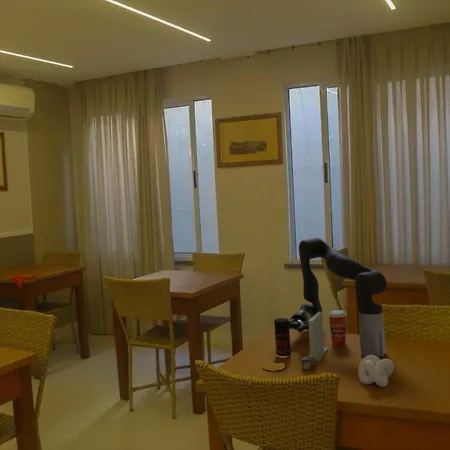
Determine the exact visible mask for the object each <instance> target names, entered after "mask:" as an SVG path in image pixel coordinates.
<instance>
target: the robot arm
mask: <svg viewBox="0 0 450 450" xmlns="http://www.w3.org/2000/svg"><path fill="white" fill-rule="evenodd" d="M298 255H299V262H300V266H301V267H300V268H301V273H302V281H303V299H304V300H305V301H307V302H309V303H303V304H301V306H300V307H299V311H297V312H296V313H294V314H293V315H291V317H290V319H289V330H295V331H297V332H298V333H302V332H304V331H309V320H310V319H311V318H312V317H313V316H314V315H315V314H317V313H318V312H322V313H323V307H322V304H321V302H320V296H319V295H320V293H319V292H320V290H319V288H320V287H319V281H318V278H317V277H316V275H315V274H314V272H313V271H312V268H311V263H310V261H311V260H312V259H317V258H321V259H324V260H325V263H326V267H327V269H328V270H329V271H330V272H332V273H333V274H335V276H338V277H339V278H344V279H347V280H352V281H354V288H355V298H356V305H357V309H358V322H359V324H358V325H359V347H360V348H359V350H360V355H361V356H362V357H363V358H365V357H366V356H368V355H375V356H377V357H378V358H384V356H385V355H386V340H385V339H386V337H385V335H386V334H385V333H386V331H385V329H384V316H383V315H384V314H383V312H384V311H383V309H384V308H383V305H382V304H381V303H379V302H375V301H373V296H375V295H379V294H382V293H384V292H385V291H386V289H387V287H388V282H387V279H386V278H385V275H383V274H382V273H381V272H380V271H379V270H375V269H373V268H370V267H368V266H366V265H363V264H362V263H360V262H359V261H357V260H354V259H352V258H351V257H350V256H348V255H346V254H344V253H343V252H340V251H339V250H337V249H335V248H334V247H332V246H331V245H329V244H328V243H327V242H325V241H324V240H323V239H322V238H320V237H313V238H307V239H303V240H301V241H300V242H299V245H298Z"/></svg>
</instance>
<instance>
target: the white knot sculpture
mask: <svg viewBox="0 0 450 450" xmlns="http://www.w3.org/2000/svg"><path fill="white" fill-rule="evenodd" d="M394 368H395V366H394V362H393V361H392V360H391V359H390V358H383V359H381V358H380V357H377V356H375V355H368V356H366V357H363V358H362V360H361V361H360V363H359V366H358V373H357V374H358V378H359V380H360V382H361V383H363V384H364V385H368V386H369V385H371V384H374V383H375V384H376V385H377V386H378V387H380V388H385V387H387V386H388V385H389V384H388V383H389V380H388V378H389V377H390V376H391V375H392V374H393V372H394Z"/></svg>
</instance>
